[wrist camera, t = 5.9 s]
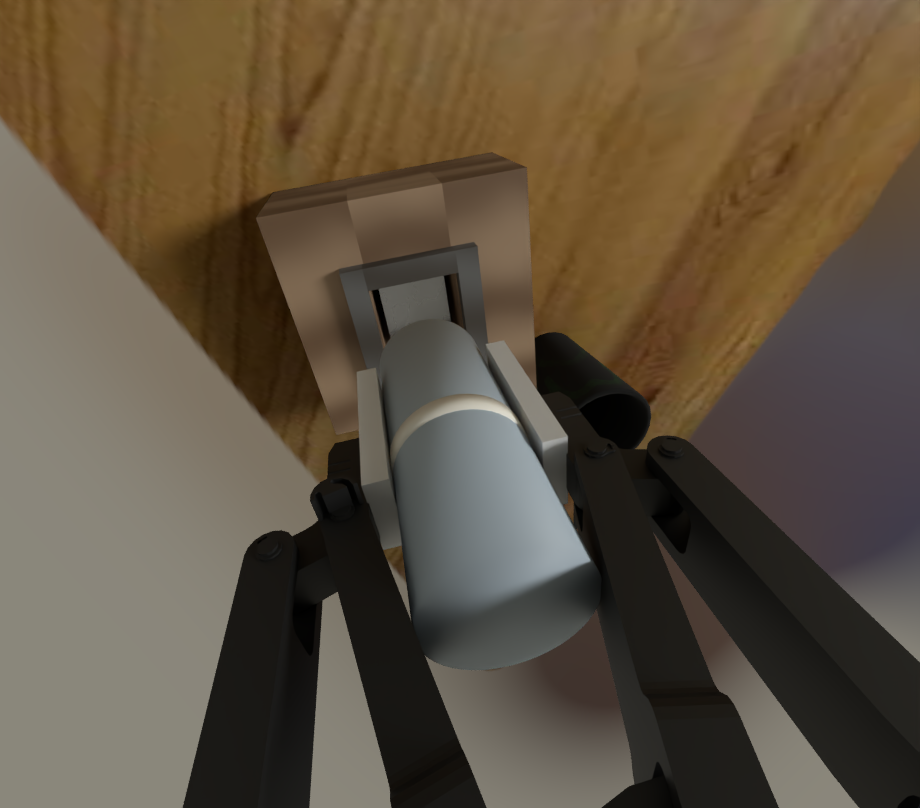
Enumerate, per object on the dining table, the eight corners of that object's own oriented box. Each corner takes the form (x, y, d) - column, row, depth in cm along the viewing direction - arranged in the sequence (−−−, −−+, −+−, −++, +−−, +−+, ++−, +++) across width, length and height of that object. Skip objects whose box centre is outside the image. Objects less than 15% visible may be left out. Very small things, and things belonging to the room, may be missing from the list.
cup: (516, 400, 47) (561, 481, 38) (504, 335, 43) (552, 408, 33) (587, 379, 48) (650, 453, 38) (583, 312, 43) (653, 376, 34)
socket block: (273, 192, 33) (253, 222, 26) (492, 152, 34) (532, 169, 27) (337, 381, 42) (336, 443, 35) (507, 343, 44) (541, 395, 36)
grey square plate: (376, 278, 32) (376, 282, 32) (440, 265, 33) (442, 268, 32) (390, 337, 35) (391, 341, 34) (450, 324, 36) (452, 328, 35)
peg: (367, 330, 19) (390, 578, 9) (474, 308, 19) (609, 521, 9) (390, 419, 21) (428, 689, 12) (485, 397, 22) (600, 640, 12)
